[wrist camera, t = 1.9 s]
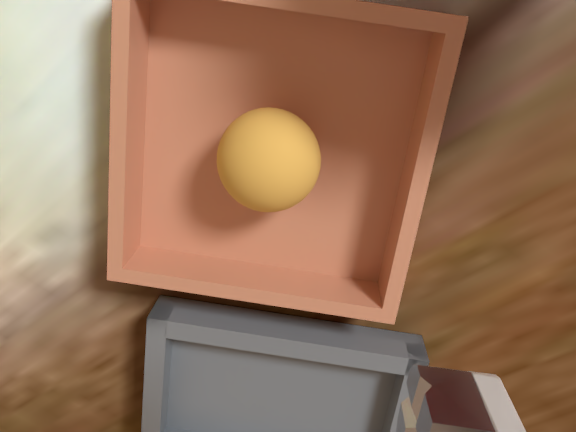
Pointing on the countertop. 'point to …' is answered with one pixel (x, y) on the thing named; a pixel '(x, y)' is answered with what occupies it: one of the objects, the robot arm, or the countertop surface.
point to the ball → (268, 159)
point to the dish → (303, 103)
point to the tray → (270, 371)
